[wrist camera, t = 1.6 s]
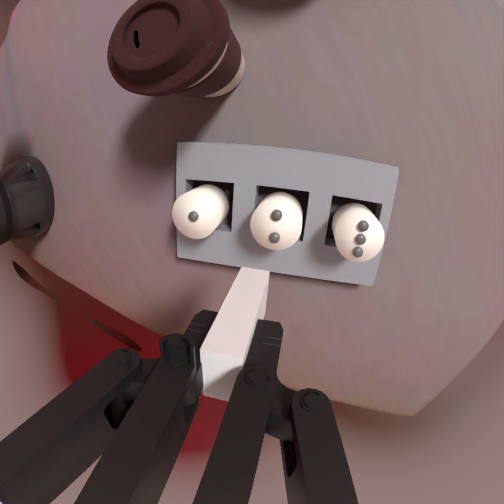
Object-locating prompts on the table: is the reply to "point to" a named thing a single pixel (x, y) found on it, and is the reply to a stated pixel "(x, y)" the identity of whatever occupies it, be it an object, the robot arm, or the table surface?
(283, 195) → the button
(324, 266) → the console
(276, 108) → the table surface
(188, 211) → the button
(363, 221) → the button
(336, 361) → the table surface
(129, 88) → the coffee cup
